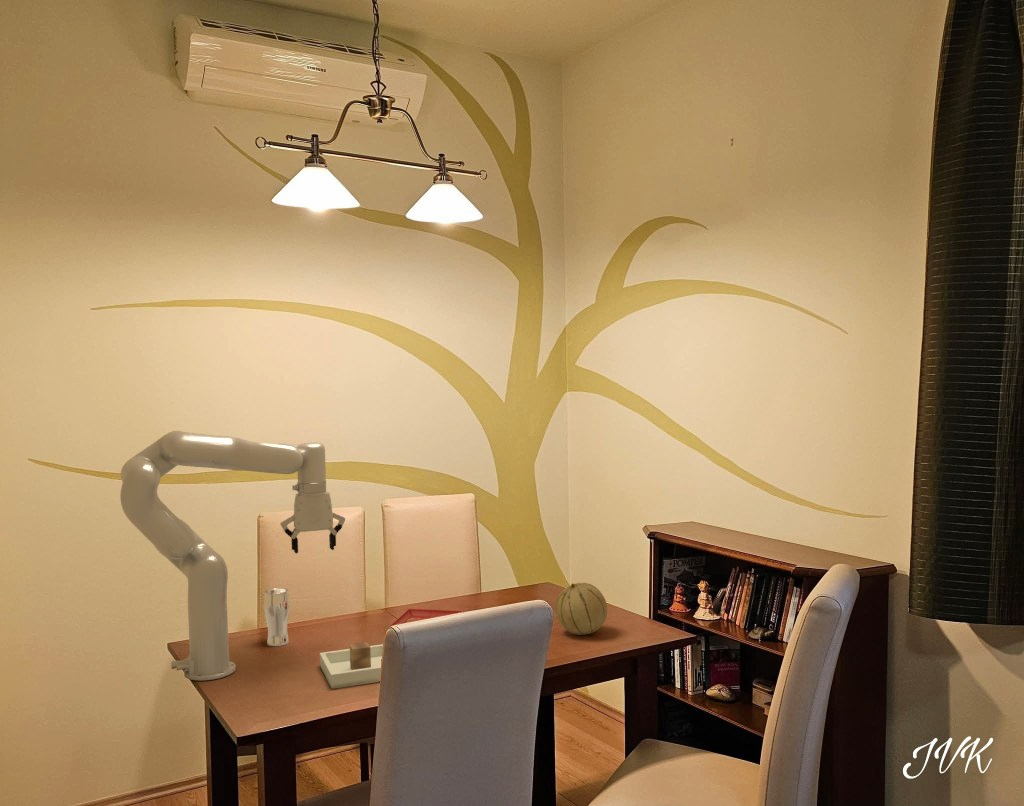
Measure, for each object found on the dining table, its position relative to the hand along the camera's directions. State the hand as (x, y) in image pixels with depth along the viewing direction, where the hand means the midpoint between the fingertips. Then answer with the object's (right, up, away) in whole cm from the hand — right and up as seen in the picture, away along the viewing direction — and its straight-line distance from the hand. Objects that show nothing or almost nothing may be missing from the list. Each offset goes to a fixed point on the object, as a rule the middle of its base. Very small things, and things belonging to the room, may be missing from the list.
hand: (314, 550), depth 240 cm
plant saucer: (+29, -27, +23) cm, 46 cm away
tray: (+15, -29, -15) cm, 36 cm away
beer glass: (-13, -28, +11) cm, 33 cm away
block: (+15, -28, -15) cm, 35 cm away
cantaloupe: (+74, -26, +13) cm, 80 cm away
